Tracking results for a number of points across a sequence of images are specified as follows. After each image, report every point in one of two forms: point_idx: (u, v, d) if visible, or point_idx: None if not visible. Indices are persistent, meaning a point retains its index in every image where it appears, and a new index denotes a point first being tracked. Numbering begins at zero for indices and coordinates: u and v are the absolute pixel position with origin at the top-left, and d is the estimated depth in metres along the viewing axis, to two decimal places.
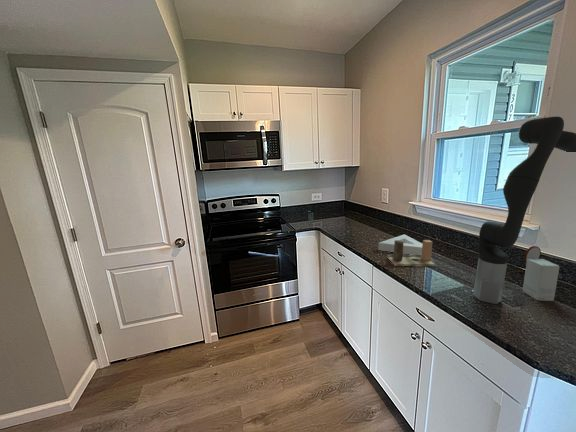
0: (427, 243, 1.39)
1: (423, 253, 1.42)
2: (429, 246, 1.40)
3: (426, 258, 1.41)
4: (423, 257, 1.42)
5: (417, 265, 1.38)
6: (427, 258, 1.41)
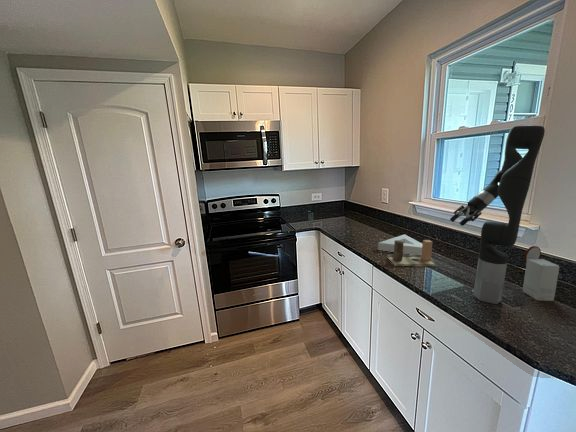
0: (427, 243, 1.39)
1: (423, 253, 1.42)
2: (429, 246, 1.40)
3: (426, 258, 1.41)
4: (423, 257, 1.42)
5: (417, 265, 1.38)
6: (427, 258, 1.41)
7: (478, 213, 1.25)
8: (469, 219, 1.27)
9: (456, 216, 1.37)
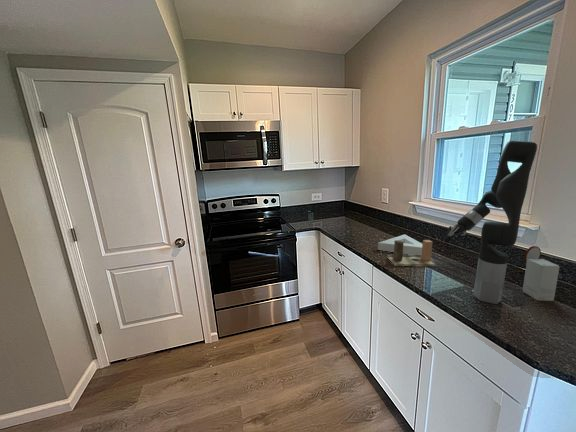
0: (427, 243, 1.39)
1: (423, 253, 1.42)
2: (429, 246, 1.40)
3: (426, 258, 1.41)
4: (423, 257, 1.42)
5: (417, 265, 1.38)
6: (427, 258, 1.41)
7: (461, 235, 1.34)
8: (452, 237, 1.38)
9: None
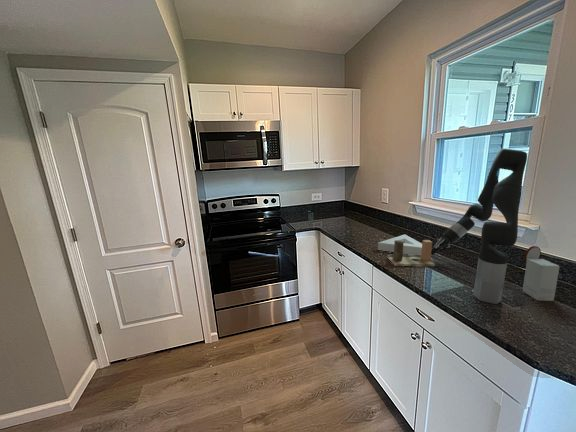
0: (427, 243, 1.39)
1: (423, 253, 1.42)
2: (429, 246, 1.40)
3: (426, 258, 1.41)
4: (423, 257, 1.42)
5: (417, 265, 1.38)
6: (427, 258, 1.41)
7: (446, 247, 1.35)
8: (438, 249, 1.39)
9: None
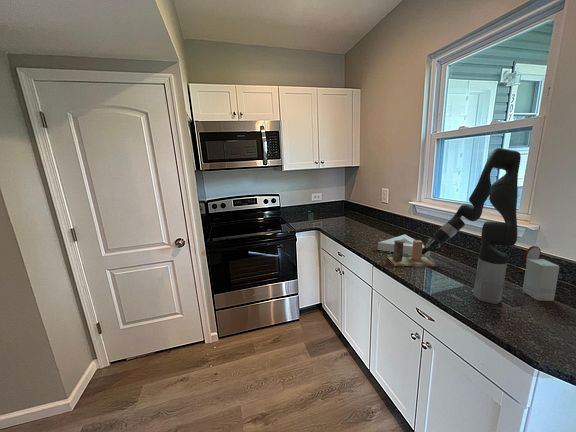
0: (417, 243, 1.40)
1: (413, 253, 1.43)
2: (420, 246, 1.40)
3: (416, 258, 1.41)
4: (413, 257, 1.43)
5: (417, 265, 1.38)
6: (417, 258, 1.41)
7: (436, 247, 1.36)
8: (428, 249, 1.40)
9: None
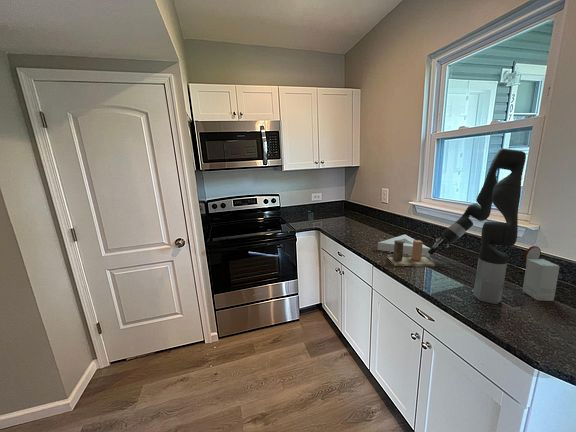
0: (417, 243, 1.40)
1: (413, 253, 1.43)
2: (420, 246, 1.40)
3: (416, 258, 1.41)
4: (413, 257, 1.43)
5: (417, 265, 1.38)
6: (417, 258, 1.41)
7: (445, 247, 1.36)
8: (436, 249, 1.39)
9: None
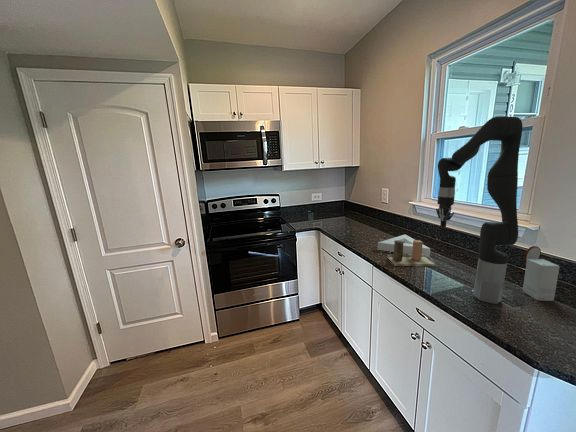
0: (417, 243, 1.40)
1: (413, 253, 1.43)
2: (420, 246, 1.40)
3: (416, 258, 1.41)
4: (413, 257, 1.43)
5: (417, 265, 1.38)
6: (417, 258, 1.41)
7: (450, 215, 1.29)
8: (445, 220, 1.33)
9: None
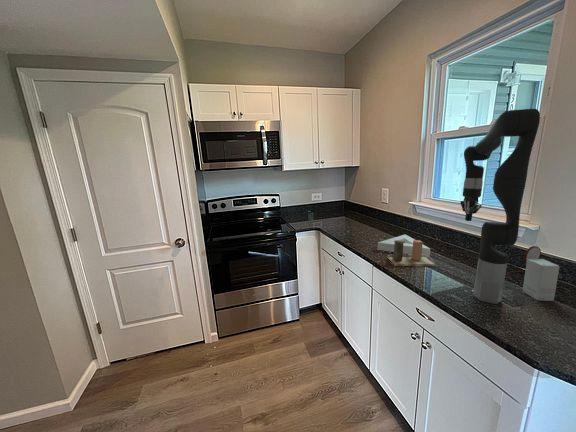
0: (417, 243, 1.40)
1: (413, 253, 1.43)
2: (420, 246, 1.40)
3: (416, 258, 1.41)
4: (413, 257, 1.43)
5: (417, 265, 1.38)
6: (417, 258, 1.41)
7: (477, 207, 1.20)
8: (471, 213, 1.24)
9: None
